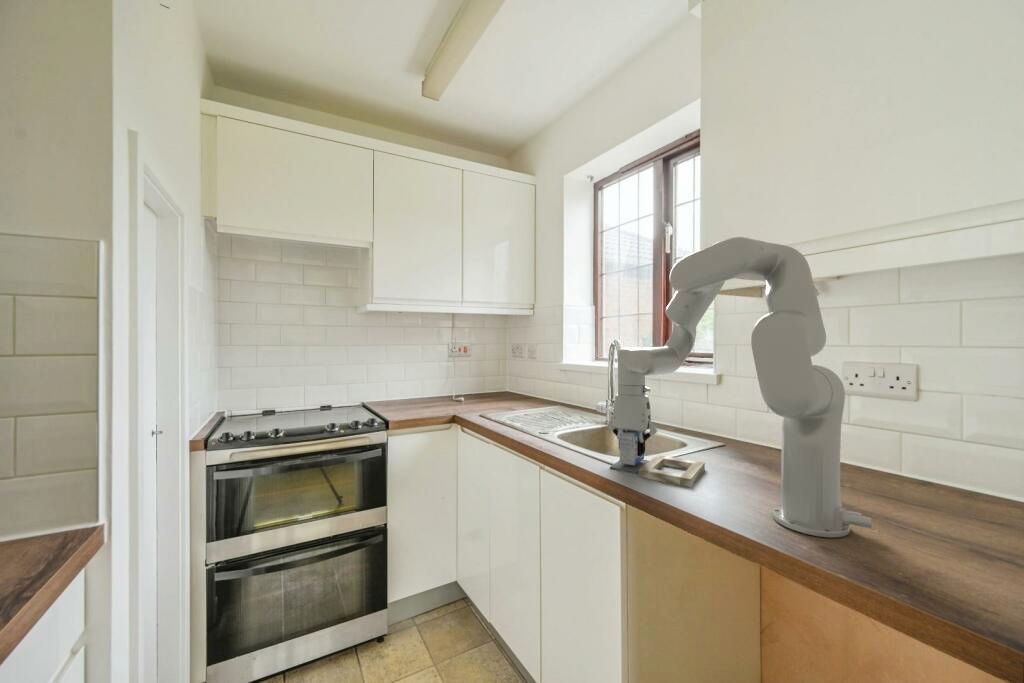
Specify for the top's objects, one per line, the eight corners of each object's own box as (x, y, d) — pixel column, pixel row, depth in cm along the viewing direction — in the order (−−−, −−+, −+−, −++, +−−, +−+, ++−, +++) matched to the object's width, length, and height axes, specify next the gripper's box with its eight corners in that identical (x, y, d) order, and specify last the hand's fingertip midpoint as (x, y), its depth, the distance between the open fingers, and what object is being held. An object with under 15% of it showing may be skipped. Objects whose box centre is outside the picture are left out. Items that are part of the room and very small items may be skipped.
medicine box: (634, 466, 115) (634, 435, 115) (619, 463, 118) (618, 433, 118) (644, 459, 122) (644, 429, 122) (629, 456, 124) (629, 427, 124)
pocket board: (704, 469, 116) (704, 462, 116) (690, 487, 103) (690, 479, 103) (657, 461, 124) (657, 454, 124) (638, 476, 111) (638, 469, 111)
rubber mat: (651, 462, 123) (651, 460, 123) (637, 474, 113) (637, 472, 113) (625, 458, 127) (625, 456, 127) (609, 468, 118) (609, 466, 118)
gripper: (665, 391, 118) (665, 455, 118) (608, 387, 128) (609, 446, 128) (657, 394, 112) (657, 462, 112) (598, 390, 122) (599, 452, 122)
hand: (631, 453), depth 120 cm, fingers closed on medicine box, 4 cm apart
